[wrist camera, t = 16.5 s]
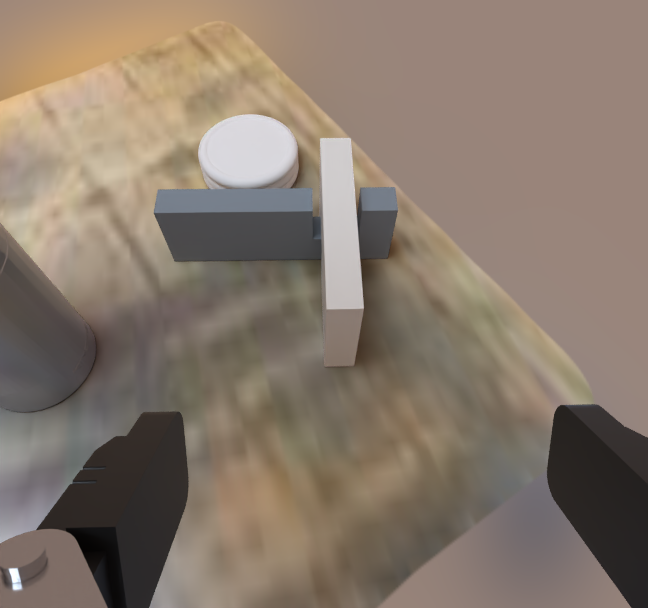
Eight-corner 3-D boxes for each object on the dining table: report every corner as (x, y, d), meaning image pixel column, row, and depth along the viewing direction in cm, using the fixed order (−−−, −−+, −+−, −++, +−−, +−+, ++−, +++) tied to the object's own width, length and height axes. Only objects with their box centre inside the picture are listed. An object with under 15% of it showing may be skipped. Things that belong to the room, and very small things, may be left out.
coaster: (191, 153, 55) (184, 127, 52) (277, 127, 57) (275, 101, 54) (222, 220, 50) (215, 197, 47) (314, 189, 52) (313, 165, 49)
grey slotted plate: (174, 261, 48) (153, 212, 41) (177, 239, 49) (157, 189, 43) (387, 258, 48) (397, 210, 42) (385, 237, 49) (395, 187, 43)
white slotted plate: (353, 365, 43) (363, 308, 34) (324, 366, 43) (326, 309, 34) (344, 215, 50) (350, 138, 42) (319, 216, 50) (320, 138, 42)
